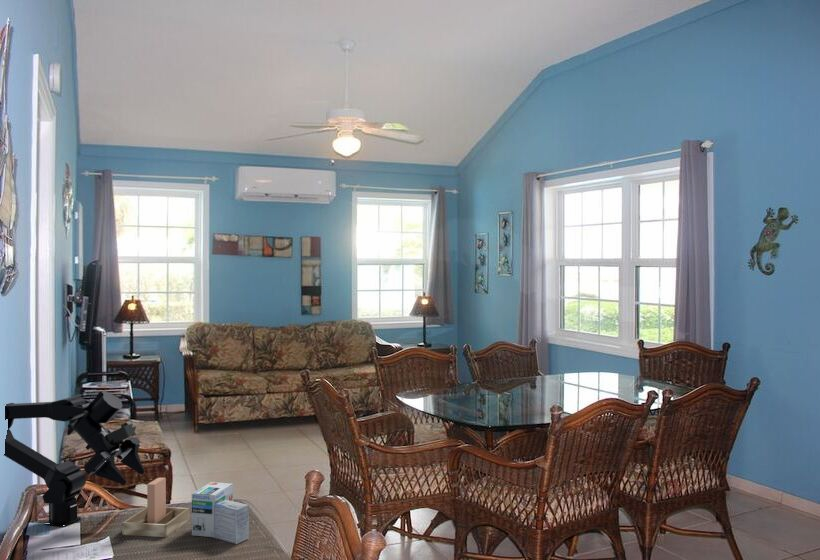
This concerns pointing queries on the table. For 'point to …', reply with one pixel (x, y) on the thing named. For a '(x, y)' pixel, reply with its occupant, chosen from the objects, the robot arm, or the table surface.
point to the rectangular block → (156, 500)
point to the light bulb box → (208, 506)
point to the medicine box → (231, 521)
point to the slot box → (156, 523)
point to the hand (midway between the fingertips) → (134, 478)
